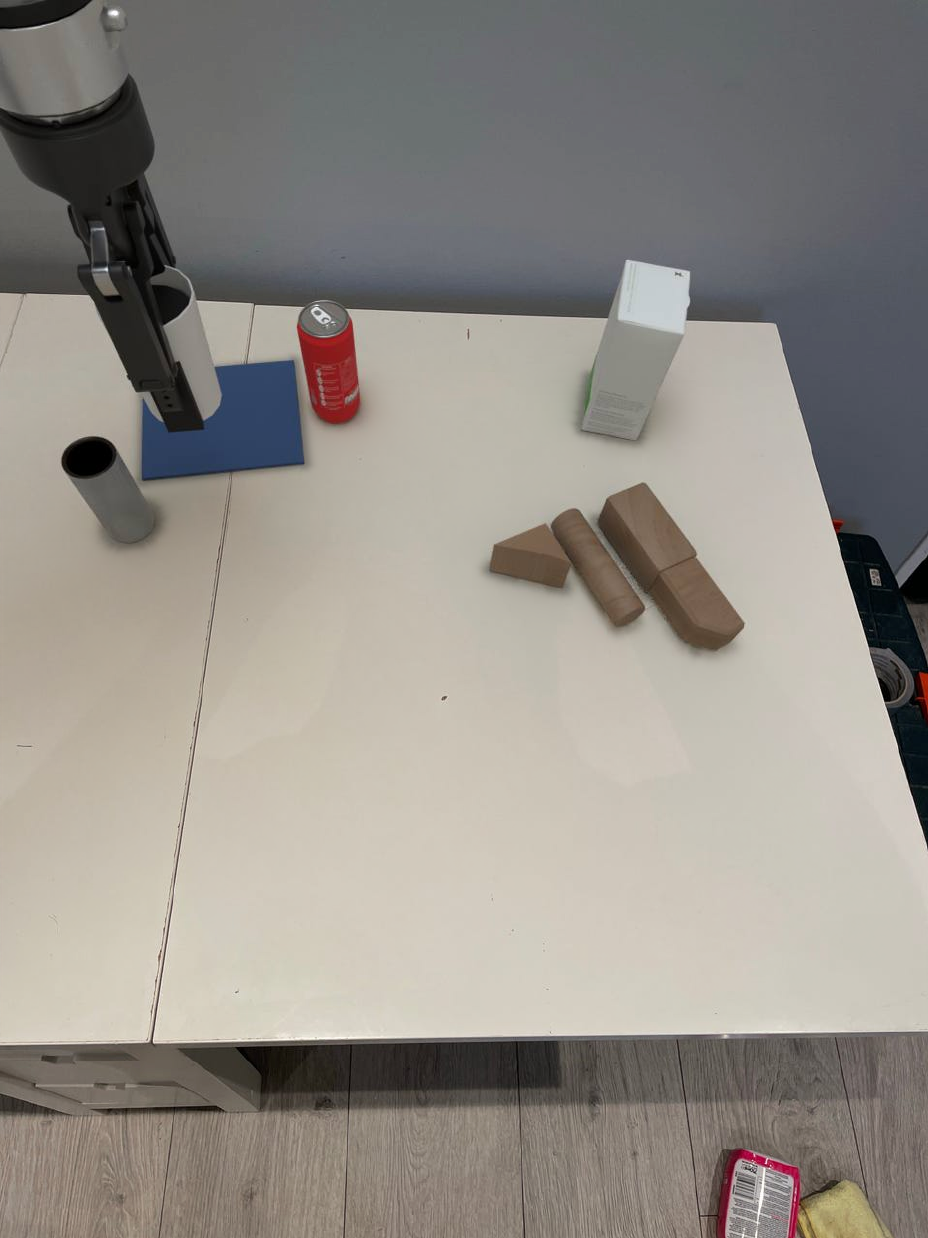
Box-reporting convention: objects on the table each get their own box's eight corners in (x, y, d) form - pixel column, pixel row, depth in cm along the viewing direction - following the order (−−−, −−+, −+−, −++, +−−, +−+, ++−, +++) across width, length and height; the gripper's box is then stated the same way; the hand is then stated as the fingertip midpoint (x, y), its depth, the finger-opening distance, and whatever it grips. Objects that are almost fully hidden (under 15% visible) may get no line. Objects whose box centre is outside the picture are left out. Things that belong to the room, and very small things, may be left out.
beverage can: (331, 434, 77) (317, 347, 67) (302, 404, 79) (284, 314, 68) (370, 410, 79) (363, 321, 68) (341, 381, 81) (329, 290, 70)
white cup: (229, 425, 59) (196, 326, 50) (143, 435, 58) (92, 336, 49) (225, 363, 61) (192, 259, 52) (142, 371, 61) (94, 266, 52)
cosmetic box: (589, 375, 83) (624, 254, 69) (647, 387, 83) (693, 267, 69) (579, 433, 79) (614, 317, 65) (640, 444, 79) (687, 331, 65)
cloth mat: (142, 480, 74) (141, 478, 73) (144, 375, 79) (143, 372, 79) (304, 463, 76) (303, 461, 75) (294, 362, 81) (293, 359, 81)
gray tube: (116, 501, 72) (72, 431, 63) (161, 507, 72) (124, 439, 63) (100, 539, 70) (51, 474, 61) (146, 546, 70) (105, 482, 61)
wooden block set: (643, 466, 71) (756, 617, 64) (627, 500, 76) (731, 644, 69) (488, 529, 67) (593, 699, 60) (483, 561, 72) (579, 720, 65)
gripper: (127, 197, 35) (236, 486, 56) (139, -13, 43) (231, 309, 64) (-41, 205, 34) (134, 496, 55) (3, -11, 42) (142, 315, 63)
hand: (186, 395), depth 59 cm, fingers closed on white cup, 6 cm apart
